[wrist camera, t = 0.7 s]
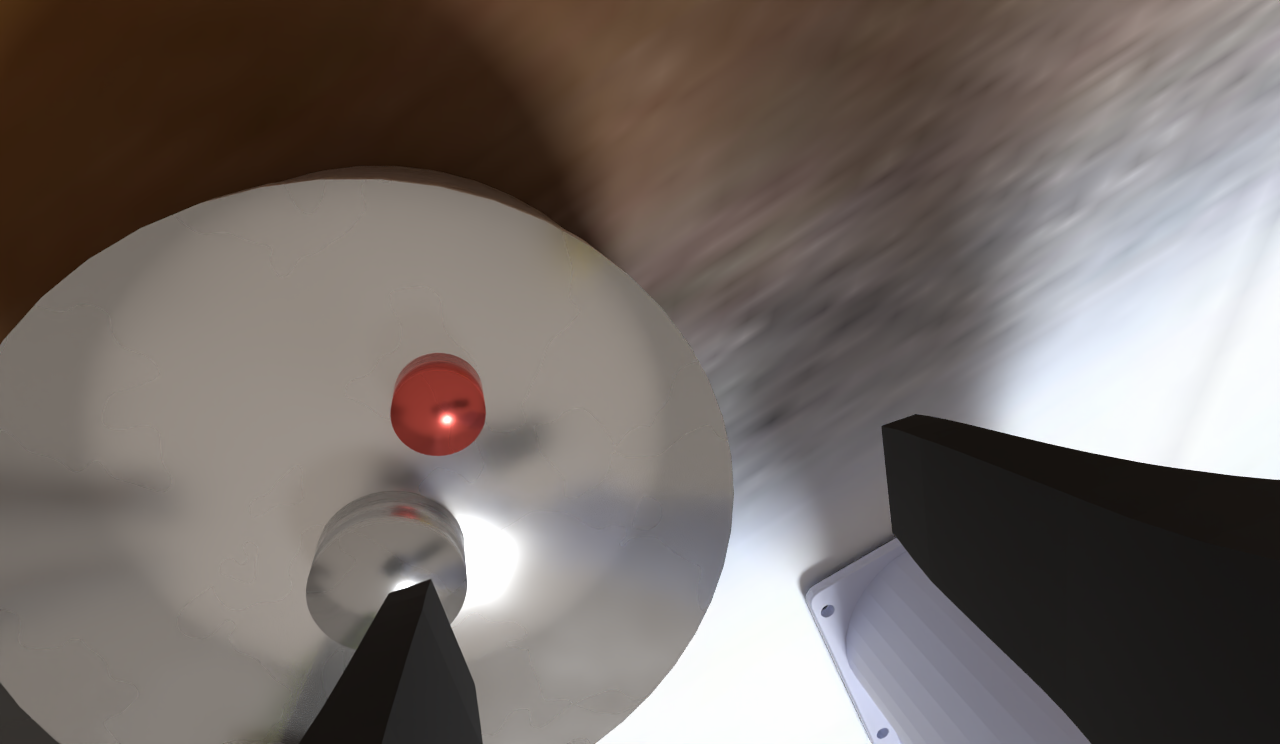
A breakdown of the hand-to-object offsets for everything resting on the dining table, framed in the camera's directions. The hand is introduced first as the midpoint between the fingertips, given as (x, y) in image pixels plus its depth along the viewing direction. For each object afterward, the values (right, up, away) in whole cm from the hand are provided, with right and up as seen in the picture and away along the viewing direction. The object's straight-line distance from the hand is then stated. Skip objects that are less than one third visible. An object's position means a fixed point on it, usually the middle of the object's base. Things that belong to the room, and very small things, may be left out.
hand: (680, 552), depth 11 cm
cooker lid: (-7, -3, +5) cm, 9 cm away
